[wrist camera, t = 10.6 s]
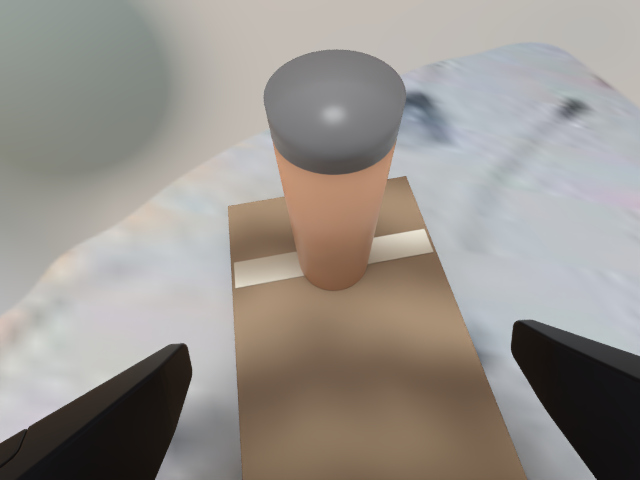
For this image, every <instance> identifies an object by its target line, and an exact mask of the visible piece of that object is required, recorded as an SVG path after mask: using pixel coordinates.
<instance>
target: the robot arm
mask: <svg viewBox="0 0 640 480" xmlns="http://www.w3.org/2000/svg"><path fill="white" fill-rule="evenodd" d="M511 352H512V355H513V357H514V359H515V360H516V362H517V364H518V365H519V367H520V369H521V370H522V372H523V374H524V375H525V377H526V379H527V380H528V382H529V384H530V385H531V387H532V389H533V390H534V392H535V394H536V395H537V397H538V399H539V400H540V402H541V403H542V405H543V406H544V408H545V409H546V411H547V412H548V414H549V415H550V416H551V418H552V419H553V421H554V422H555V423H556V425H557V426H558V427H559V429H560V430H561V431H562V433H563V434H564V436H565V437H566V438H567V440H568V441H569V442H570V444H571V445H572V446H573V448H574V449H575V451H576V452H577V453H578V455H579V456H580V457H581V459H582V460H583V461H584V463H585V464H586V466H587V467H588V468H589V470H590V471H591V472H592V474H593V475H594V476H595V478H596V479H597V480H640V356H638V355H635V354H632V353H629V352H626V351H623V350H620V349H617V348H614V347H611V346H608V345H605V344H602V343H599V342H596V341H593V340H590V339H587V338H585V337H582V336H579V335H576V334H573V333H570V332H567V331H564V330H561V329H558V328H555V327H552V326H549V325H546V324H543V323H540V322H537V321H534V320H518V321H516V322H515V323H514V325H513V332H512V341H511ZM191 378H192V366H191V361H190V356H189V351H188V347H187V345H186V344H184V343H180V344H170V345H168V346H166V347H164V348H163V349H161V350H159V351H158V352H156V353H154V354H152V355H151V356H149V357H147V358H146V359H144V360H142V361H140V362H139V363H137V364H135V365H134V366H132V367H130V368H129V369H127V370H125V371H123V372H122V373H120V374H118V375H117V376H115V377H113V378H111V379H110V380H108V381H106V382H105V383H103V384H101V385H99V386H98V387H96V388H94V389H93V390H91V391H89V392H87V393H86V394H84V395H82V396H81V397H79V398H77V399H75V400H74V401H72V402H70V403H69V404H67V405H65V406H63V407H62V408H60V409H58V410H57V411H55V412H53V413H51V414H50V415H48V416H46V417H45V418H43V419H41V420H39V421H38V422H36V423H34V424H33V425H31V426H29V428H28V430H27V429H24V430H22V431H20V432H19V433H17V434H15V435H14V436H12V437H10V438H9V439H7V440H5V441H3V442H2V443H0V480H155V478H156V476H157V473H158V471H159V469H160V466H161V464H162V462H163V459H164V457H165V455H166V452H167V450H168V447H169V445H170V443H171V440H172V438H173V435H174V433H175V430H176V427H177V424H178V421H179V417H180V414H181V411H182V408H183V404H184V401H185V398H186V394H187V391H188V388H189V385H190V381H191Z"/></svg>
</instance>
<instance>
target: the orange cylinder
mask: <svg viewBox="0 0 640 480" xmlns="http://www.w3.org/2000/svg"><path fill="white" fill-rule="evenodd" d="M405 101H406V90H405V86H404V83H403V81H402V79H401V78H400V76H399V75H398V74H397V72H396V71H395V70H394V69H393V68H392V67H390V66H389V65H388V64H386V63H385V62H383V61H382V60H380V59H378V58H376V57H373V56H371V55H368V54H365V53H361V52H356V51H350V50H323V51H318V52H312V53H308V54H305V55H302V56H300V57H297V58H295V59H293V60H291V61H289V62H287V63H286V64H284V65H283V66H281V67H280V68H279V69H278V70H277V71H276V72H275V73H274V74H273V75H272V76H271V78H270V79H269V81H268V83H267V85H266V88H265V91H264V105H265V109H266V114H267V118H268V123H269V128H270V132H271V137H272V141H273V146H274V150H275V155H276V159H277V164H278V168H279V173H280V177H281V182H282V186H283V191H284V195H285V200H286V204H287V209H288V213H289V218H290V222H291V227H292V232H293V236H294V241H295V245H296V250H297V254H298V259H299V263H300V267H301V270H302V272H303V274H304V276H305V277H306V278H307V280H308V281H310V282H311V283H312V284H313V285H315V286H317V287H319V288H321V289H325V290H331V291H336V290H343V289H346V288H349V287H351V286H352V285H354V284H355V283H357V282H358V281H359V280H360V279H361V278H362V276H363V275H364V273H365V271H366V268H367V264H368V260H369V255H370V251H371V247H372V243H373V238H374V234H375V230H376V225H377V221H378V217H379V213H380V208H381V204H382V200H383V195H384V191H385V187H386V183H387V178H388V174H389V170H390V165H391V161H392V157H393V153H394V148H395V144H396V140H397V135H398V131H399V127H400V123H401V118H402V114H403V110H404V105H405Z"/></svg>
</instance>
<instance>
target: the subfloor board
mask: <svg viewBox="0 0 640 480" xmlns="http://www.w3.org/2000/svg"><path fill="white" fill-rule="evenodd" d="M228 217H229V235H230V254H231V273H232V292H233V311H234V330H235V349H236V368H237V387H238V405H239V424H240V443H241V462H242V480H527V477H526V475H525V472H524V470H523V467H522V465H521V462H520V460H519V457H518V455H517V452H516V450H515V447H514V445H513V442H512V440H511V437H510V435H509V432H508V430H507V427H506V425H505V422H504V420H503V417H502V415H501V412H500V410H499V407H498V405H497V402H496V400H495V397H494V395H493V392H492V390H491V387H490V385H489V382H488V380H487V377H486V375H485V372H484V370H483V367H482V365H481V362H480V360H479V357H478V355H477V352H476V350H475V347H474V345H473V342H472V340H471V337H470V335H469V332H468V330H467V327H466V325H465V322H464V320H463V317H462V315H461V312H460V310H459V307H458V305H457V302H456V300H455V297H454V295H453V292H452V290H451V287H450V285H449V282H448V280H447V277H446V275H445V272H444V270H443V267H442V265H441V262H440V260H439V257H438V255H437V252H436V250H435V247H434V245H433V242H432V240H431V237H430V235H429V232H428V230H427V227H426V225H425V222H424V220H423V217H422V215H421V212H420V210H419V207H418V205H417V202H416V200H415V197H414V195H413V192H412V190H411V187H410V185H409V182H408V180H407V177H406V176H404V177H398V178H392V179H387V183H386V187H385V191H384V195H383V200H382V204H381V208H380V213H379V217H378V221H377V225H376V230H375V234H374V238H373V243H372V247H371V251H370V255H369V260H368V264H367V268H366V271H365V273H364V275H363V276H362V278H361V279H360V280H359V281H358V282H357V283H355V284H354V285H352V286H351V287H349V288H346V289H343V290H336V291H331V290H325V289H321V288H319V287H317V286H315V285H313V284H312V283H311V282H310V281H308V280H307V278H306V277H305V276H304V274H303V272H302V270H301V267H300V263H299V259H298V254H297V250H296V245H295V241H294V236H293V232H292V227H291V222H290V218H289V213H288V209H287V204H286V200H285V197H280V198H274V199H268V200H262V201H256V202H250V203H244V204H238V205H232V206H228Z"/></svg>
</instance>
